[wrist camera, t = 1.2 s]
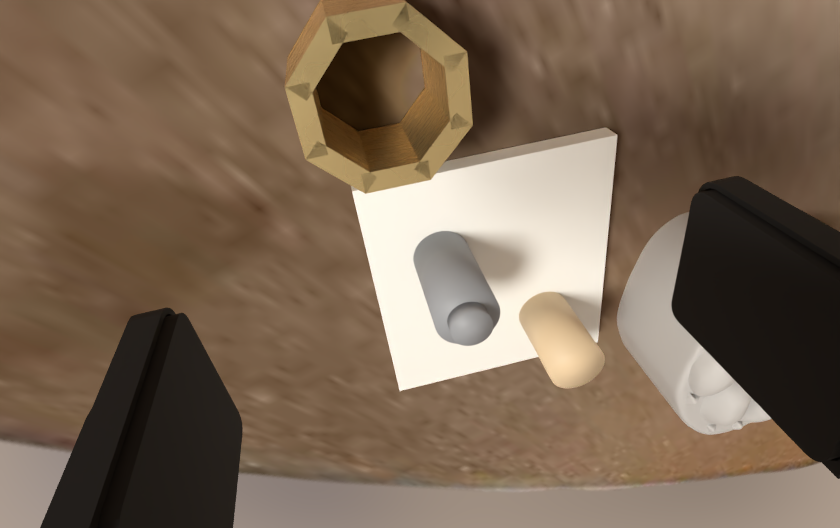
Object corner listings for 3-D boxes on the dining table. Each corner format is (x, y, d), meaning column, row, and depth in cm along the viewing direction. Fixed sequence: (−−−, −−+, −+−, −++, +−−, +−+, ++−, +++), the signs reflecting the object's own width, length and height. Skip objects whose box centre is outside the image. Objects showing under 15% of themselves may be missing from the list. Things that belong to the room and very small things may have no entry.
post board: (606, 127, 27) (694, 186, 21) (589, 330, 36) (648, 414, 30) (350, 181, 26) (365, 260, 20) (397, 377, 35) (417, 474, 29)
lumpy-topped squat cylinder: (792, 210, 33) (924, 287, 26) (711, 355, 40) (798, 447, 33) (654, 210, 31) (758, 295, 24) (594, 364, 38) (660, 464, 31)
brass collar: (432, -22, 22) (462, -9, 18) (448, 130, 26) (476, 170, 21) (274, 7, 21) (267, 27, 17) (315, 158, 25) (318, 203, 21)
